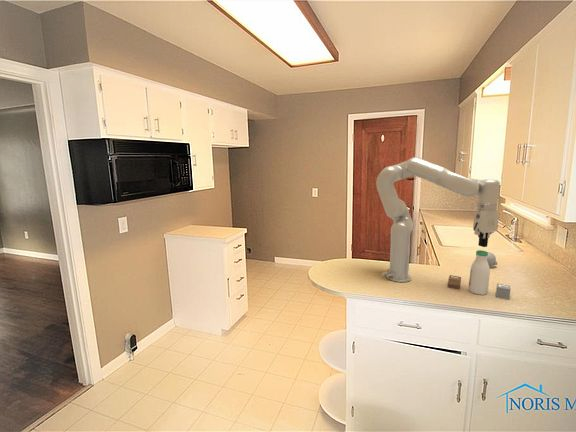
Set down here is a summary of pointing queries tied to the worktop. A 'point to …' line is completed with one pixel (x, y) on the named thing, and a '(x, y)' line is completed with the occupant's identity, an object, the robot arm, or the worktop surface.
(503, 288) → the slate grey block
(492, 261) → the chubby cartoon animal
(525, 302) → the worktop surface
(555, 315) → the worktop surface
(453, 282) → the walnut block
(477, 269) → the milk bottle
